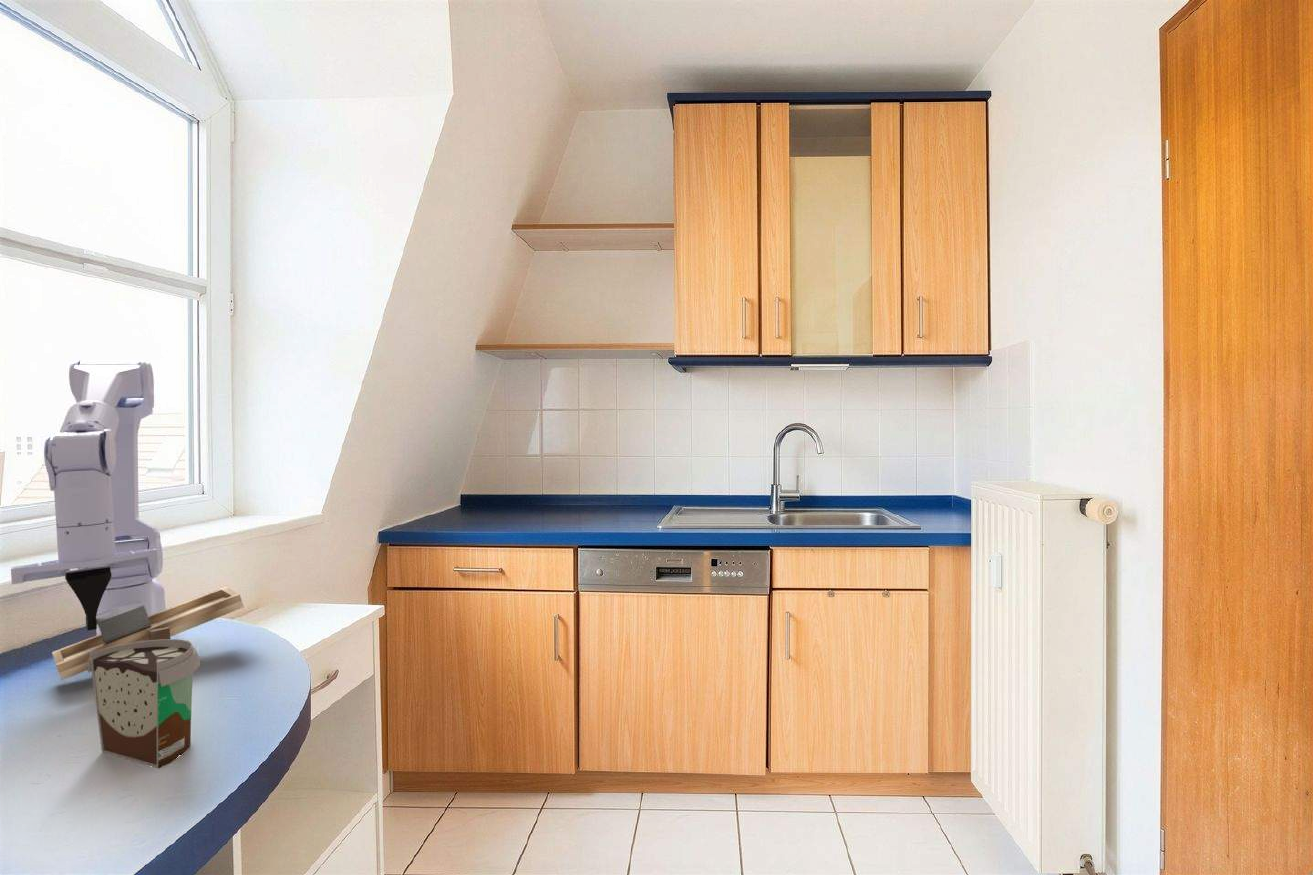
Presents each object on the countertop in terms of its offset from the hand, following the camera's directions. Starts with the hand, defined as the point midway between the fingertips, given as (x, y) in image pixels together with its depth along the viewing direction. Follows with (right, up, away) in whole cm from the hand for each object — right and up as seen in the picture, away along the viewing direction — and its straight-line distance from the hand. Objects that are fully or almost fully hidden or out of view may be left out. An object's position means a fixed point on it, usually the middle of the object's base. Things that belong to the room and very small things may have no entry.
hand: (92, 628), depth 88 cm
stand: (+5, -7, +5) cm, 9 cm away
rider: (+3, -2, +3) cm, 4 cm away
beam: (+5, -2, +5) cm, 7 cm away
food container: (+24, -6, -20) cm, 32 cm away
